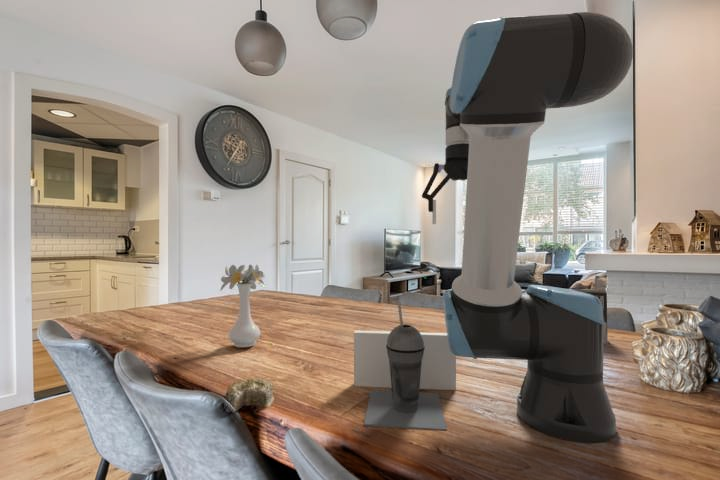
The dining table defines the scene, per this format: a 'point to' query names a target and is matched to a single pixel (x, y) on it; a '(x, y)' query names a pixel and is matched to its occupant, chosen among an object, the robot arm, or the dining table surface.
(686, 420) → the dining table surface
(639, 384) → the dining table surface
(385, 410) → the mat
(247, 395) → the cake
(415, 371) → the beverage cup
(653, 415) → the dining table surface
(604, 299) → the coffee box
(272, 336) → the dining table surface
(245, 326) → the flower vase
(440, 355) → the screen
